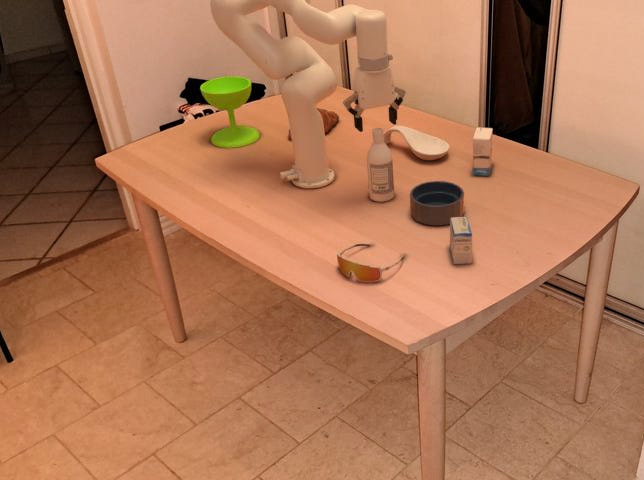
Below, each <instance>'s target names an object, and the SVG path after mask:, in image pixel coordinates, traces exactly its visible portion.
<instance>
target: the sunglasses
mask: <svg viewBox="0 0 644 480" xmlns="http://www.w3.org/2000/svg"><path fill="white" fill-rule="evenodd" d="M371 246H372V244H371V243H366V242H365V243H363V242H362V243H361V242H360V243H354V244H352V245H350V246H347V247H345V248H344V249H341V251H339V252H338V253H337V254H336V258H337V264H338V267H339V269H340V271H341V273H342V275H344V276H345V277H347V278H350V277H351V276H352V274H353V275H354V277H355V279H356V280H357V281H358V282H360V283H375V282H379V281H381V280H382V278H383V273H384V272H386V271H389V270H390V269H391V268H393V267H395V266H397V265H398V264H400V263H401V261H402V260H403V259H404V258H405V254H402V256H401V257H400V258H399V259H398V260H396V261H395V262H393V263H391V264H389V265H386V266H382V267H381V266H374V265H370V264H367V263H360V262H358V261H354V260H351V259H349V258H347V257H344V256H343V254H344V253H345V252H346V251H348V250H349V251H350V250H351V249H354V248H357V247H371Z"/></svg>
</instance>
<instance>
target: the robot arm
mask: <svg viewBox="0 0 644 480" xmlns="http://www.w3.org/2000/svg"><path fill="white" fill-rule="evenodd" d="M209 2H210V3H209V6H210V12H211V15H212V18H213V21H214V23H215V25H216V26H217V28H218V29H219V30H220V32H221V33H222V34H224V35H225V37H227V38H228V39H229V40H231V42H233V43H234V44H235V45H236V46H237V47H238V48H240V49H241V51H242V52H243V53H244V54H245V55H246V56H247V57H248V59H250V60H251V62H253V63H254V64H255V66H256V67H257V68H258V69H259V70H260V71H261V72H262V73H263V74H264V75H265V76H266V77H268V78H269V79H271V80H274V81H277V80H281V79H284V78H287V77H288V76H289V77H288V78H287V79H285V81H284V82H283V84H282V86H281V91H280V92H281V93H280V95H281V99H282V102H283V105H284V107H285V110H286V113H287V114H286V115H287V118H288V125H289V129H290V132H291V139H292V140H291V139H290V140H291V145H292V152H293V160H294V164H292V165H291V167H292V168H290V169H289V170H286V171H280V172H279V177H280V179H281V180H284V179H286V180H287V181H291V182H292V184H293V185H294V186H296V187H299V188H302V189H318V188H319V189H320V188H323V187H326V186H327V185H330V184H331V183H333V181H334V180H335V177H336V176H335V172H334V171H333V169H331V168H329V162H328V151H327V142H326V134H325V132H324V123H323V119H322V116H321V114H320V113H319V111H318V109H317V108H318V107H317V105H318V104H319V103H320V102H322V101H324V100H326V99H328V98H329V97H331V96H332V95H334V93H336V91H337V88H338V78H337V75H336V73H335V72H334V70H333V69H332V67H331V66H330V65H329V64H328V63H327V62H326V61H325V60H324V59H323V57H322V56H320V54H319V53H318V52H317V50H315V49H314V48H313V47H312V46H311V45H310V43H308V42H307V41H306V40H304V39H303V38H301V37H299V36H297V35H288V36H285V37H283V38H280V39H277V38H275V37H273V36H272V34H270V33H269V32H268V30H267V29H266V28H265V27H263V26H262V25H261V24H259V23H258V22H256V21H254V20H252V19H250V18H247V15H250V14H252V13H256V12H258V11H261V10H263V9H266V8H268V7H269V6H270V7H272V8H275V9H276V10H279V11H281V12H282V13H285V14H287V15H288V16H290V17H291V19H292V20H293V22H294V24H295V25H296V27H297V28H298V29H299V30H300V31H301V33H302V34H304V35H305V36H307V37H309V38H311V39H313V40H316V41H317V42H320V43H322V44H325V45H329V46H333V45H338V44H340V43H343V42H345V41H347V40H349V39H352V38H355V39H356V51H357V67H355V69H354V74H353V86H352V87H353V89H352V94H351V95H350V96H348V97H347V98H345V99H344V100H343V101H342V105H343V106H344V108H345V109H346V111H347V112H348V113H350V115H352V116H353V123H354V128H355V129H356V130H357V131H358V132H359V133H363V131H364V122H363V117H362V114H363V113H364V111H365V110H371V109H375V108H381V107H387V106H388V121H389V122H390V123H391V125H393V126H397V121H398V110H399V109H400V106H401V105H402V103H403V101H404V98H405V97H406V93H407V92H406V89H405V90H404V89H403V88H401V87H397V86H395V82H394V76H393V72H392V68H391V65H390V61H393V58H394V57H393V55H392V54H389V53H388V27H387V26H388V25H387V16H386V13H385V12H383V11H382V10H379V9H367V8H365V7H362V6H360V5H357V4H352V3H349V4H345V5H342V6H340V7H337V8H335V9H333V10H330V11H328V12H325V11H323V10H320V9H318V8H316V7H314V6H312V5H311V4H310V3H311V0H210V1H209ZM396 94H397V96H396ZM353 103H354V104H355V106H354V108H353V107H352V104H353Z"/></svg>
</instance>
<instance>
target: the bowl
mask: <svg viewBox="0 0 644 480" xmlns="http://www.w3.org/2000/svg"><path fill="white" fill-rule="evenodd" d="M409 209H410V216H411V217H412V218H413V219H414V220H415V221H416V222H418V223H421V224H422V225H428V226H445V225H446V226H447V225H450V218H454V217H464V215H465V214H464V213H465V192H464V189H463V188H462V187H461V186H460V185H458V184H456V183H453V182H450V181H445V180H432V181H426V182H422V183H419V184H417V185H415V186H414V187H412V189H411V190H410V193H409Z"/></svg>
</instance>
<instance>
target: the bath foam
mask: <svg viewBox="0 0 644 480" xmlns="http://www.w3.org/2000/svg"><path fill="white" fill-rule="evenodd" d="M371 133H372V143H371V145H370V147H369V148H368V151H367V154H366V167H367V183H368V194H369V195H368V196H369V198H370V199H371V200H372V201H375V202H376V203H377V202H379V203H383V202H384V203H385V202H388V201H391V200H392V199H393V198H394V197H395V185H394V183H395V181H394V164H393V163H394V161H393V154H392V151H391V150H390V148H389V146H388V144H385V143H384V129H383V128H381V127H375V128H373V129H372V130H371Z"/></svg>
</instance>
